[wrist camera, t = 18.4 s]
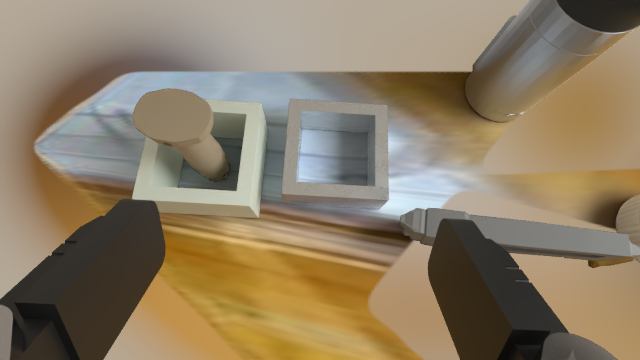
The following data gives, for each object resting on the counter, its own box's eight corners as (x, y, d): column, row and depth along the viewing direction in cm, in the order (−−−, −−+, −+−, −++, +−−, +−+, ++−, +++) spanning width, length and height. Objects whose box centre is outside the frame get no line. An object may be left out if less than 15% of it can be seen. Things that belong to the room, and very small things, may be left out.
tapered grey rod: (411, 230, 49) (399, 204, 36) (617, 249, 40) (703, 224, 27) (409, 251, 48) (397, 232, 35) (620, 276, 39) (710, 263, 26)
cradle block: (178, 124, 43) (155, 96, 37) (268, 130, 44) (261, 103, 37) (160, 212, 40) (131, 199, 33) (258, 218, 40) (249, 206, 33)
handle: (238, 192, 41) (201, 146, 27) (188, 184, 41) (125, 133, 27) (246, 157, 42) (216, 95, 28) (198, 149, 42) (143, 83, 28)
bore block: (291, 118, 44) (289, 98, 40) (378, 123, 45) (387, 105, 40) (284, 203, 41) (281, 193, 36) (378, 209, 41) (388, 200, 36)
